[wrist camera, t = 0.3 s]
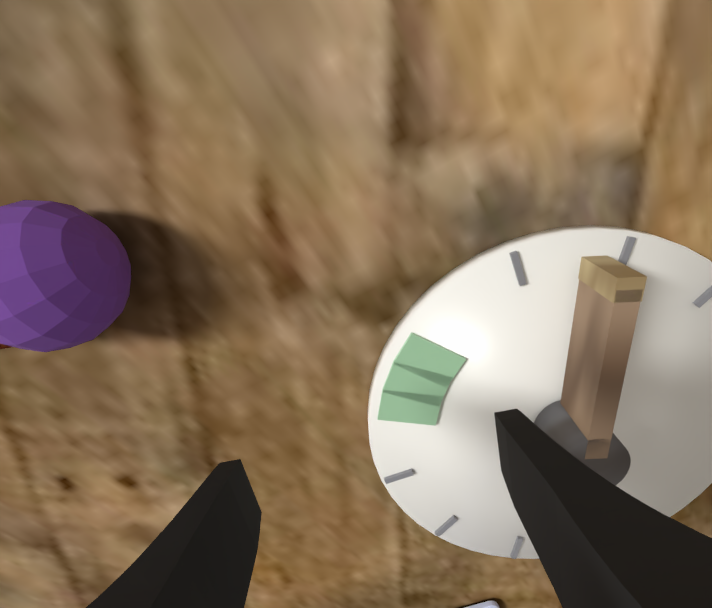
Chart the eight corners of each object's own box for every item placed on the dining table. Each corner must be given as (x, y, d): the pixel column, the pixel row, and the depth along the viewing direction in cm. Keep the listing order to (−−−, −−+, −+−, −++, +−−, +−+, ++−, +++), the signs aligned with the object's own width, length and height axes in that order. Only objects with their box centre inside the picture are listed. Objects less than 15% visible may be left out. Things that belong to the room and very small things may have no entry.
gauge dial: (761, 485, 26) (779, 501, 25) (436, 579, 29) (440, 597, 28) (731, 153, 19) (755, 154, 18) (305, 319, 22) (303, 330, 21)
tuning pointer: (591, 448, 23) (623, 493, 21) (529, 451, 23) (554, 496, 21) (629, 252, 19) (675, 275, 17) (555, 256, 19) (589, 279, 17)
